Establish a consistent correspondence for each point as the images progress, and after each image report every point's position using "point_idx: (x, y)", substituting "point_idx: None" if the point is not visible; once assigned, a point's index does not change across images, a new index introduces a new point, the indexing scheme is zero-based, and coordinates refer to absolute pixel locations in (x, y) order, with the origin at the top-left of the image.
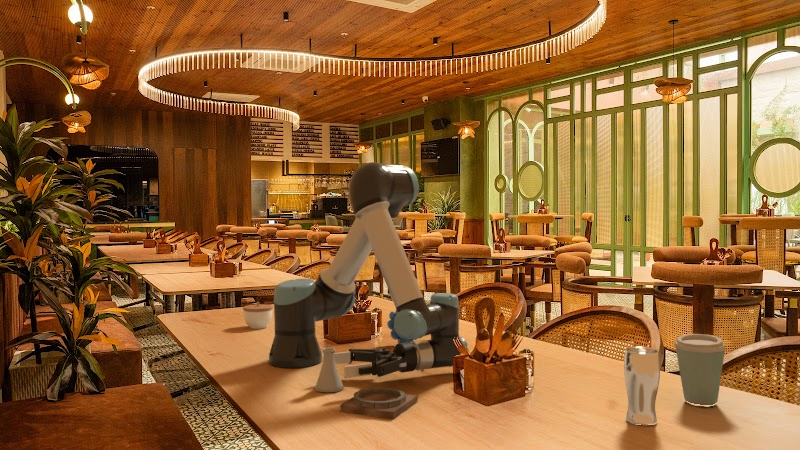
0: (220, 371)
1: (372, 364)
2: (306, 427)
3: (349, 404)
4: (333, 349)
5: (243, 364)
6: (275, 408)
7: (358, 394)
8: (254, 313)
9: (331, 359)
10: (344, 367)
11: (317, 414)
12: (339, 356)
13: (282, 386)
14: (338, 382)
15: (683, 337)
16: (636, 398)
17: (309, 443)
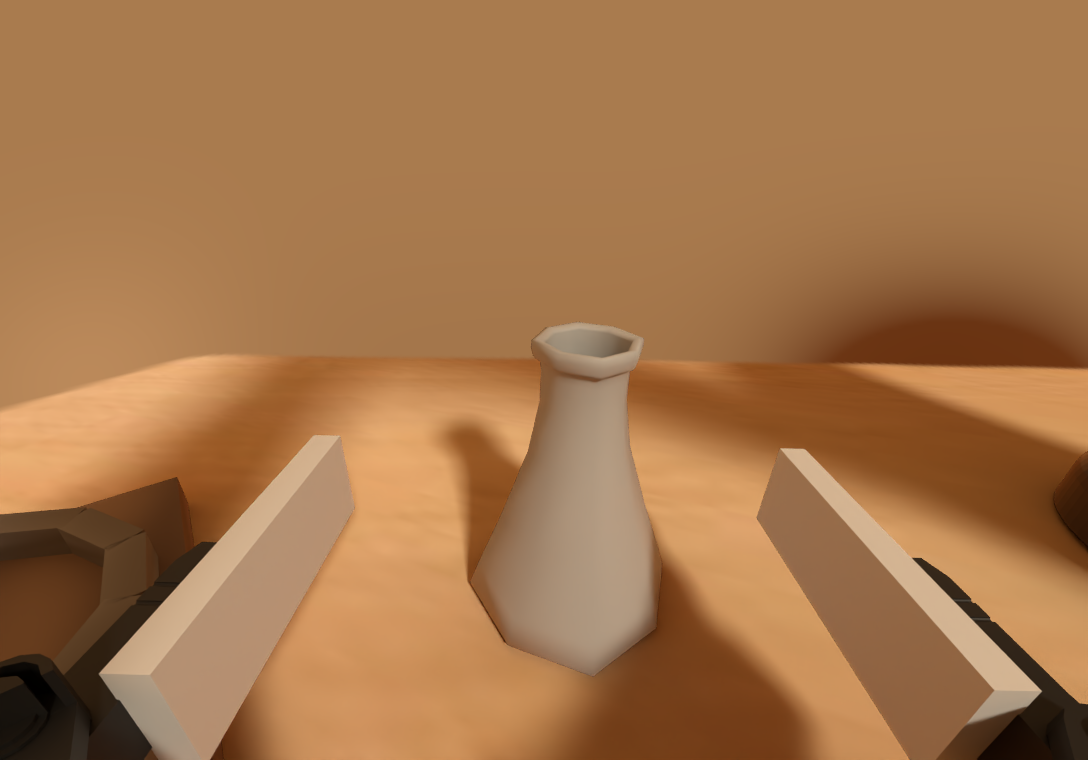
0: (895, 376)
1: (36, 685)
2: (201, 400)
3: (121, 507)
4: (599, 364)
5: (1042, 421)
6: (434, 390)
7: (107, 556)
8: None
9: (538, 408)
10: (333, 443)
11: (263, 442)
12: (849, 568)
13: (683, 443)
14: (504, 572)
15: None
16: None
17: (97, 383)
